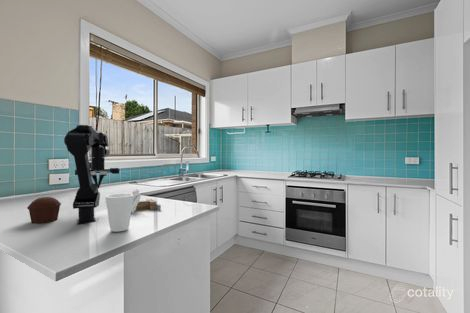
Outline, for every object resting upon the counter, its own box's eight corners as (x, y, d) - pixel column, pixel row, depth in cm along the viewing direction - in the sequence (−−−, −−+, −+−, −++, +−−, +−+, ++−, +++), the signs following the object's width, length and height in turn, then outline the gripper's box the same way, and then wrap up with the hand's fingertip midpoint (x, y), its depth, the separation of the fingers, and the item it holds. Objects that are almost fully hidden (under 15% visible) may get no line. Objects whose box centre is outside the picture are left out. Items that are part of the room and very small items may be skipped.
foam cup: (100, 230, 84) (100, 196, 84) (122, 223, 93) (122, 192, 93) (116, 234, 80) (116, 198, 80) (138, 227, 88) (138, 194, 88)
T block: (156, 210, 117) (156, 201, 117) (138, 212, 112) (138, 203, 112) (151, 206, 124) (151, 198, 124) (134, 209, 119) (134, 200, 119)
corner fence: (160, 210, 115) (160, 205, 115) (138, 213, 109) (138, 207, 109) (152, 205, 128) (152, 200, 128) (132, 207, 122) (132, 202, 122)
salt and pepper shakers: (121, 206, 117) (132, 187, 121) (128, 209, 119) (139, 190, 123) (125, 210, 108) (137, 189, 111) (133, 213, 110) (145, 192, 113)
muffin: (65, 219, 99) (65, 197, 99) (33, 226, 89) (33, 201, 89) (54, 215, 105) (54, 194, 105) (22, 221, 96) (23, 198, 96)
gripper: (116, 157, 124) (116, 185, 124) (75, 157, 113) (75, 188, 113) (119, 157, 115) (119, 187, 115) (75, 157, 104) (74, 190, 104)
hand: (97, 188), depth 112 cm, fingers closed
